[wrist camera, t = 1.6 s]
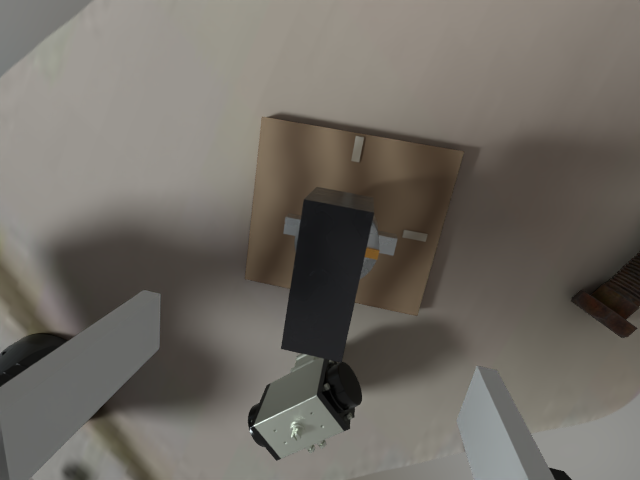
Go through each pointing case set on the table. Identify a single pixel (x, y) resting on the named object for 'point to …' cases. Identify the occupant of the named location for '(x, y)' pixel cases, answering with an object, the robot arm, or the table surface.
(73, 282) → the table surface
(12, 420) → the robot arm
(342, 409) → the pneumatic valve
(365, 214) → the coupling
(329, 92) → the table surface
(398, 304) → the base
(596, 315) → the bolt
